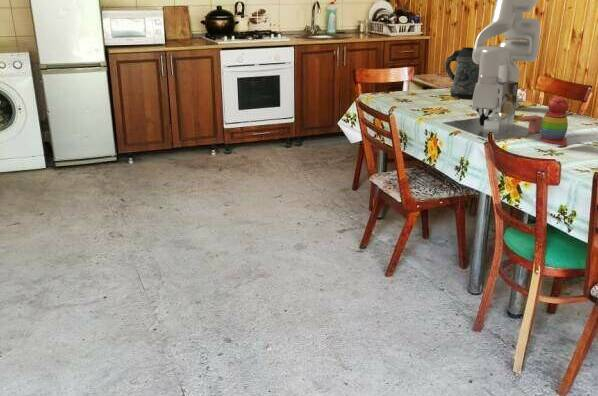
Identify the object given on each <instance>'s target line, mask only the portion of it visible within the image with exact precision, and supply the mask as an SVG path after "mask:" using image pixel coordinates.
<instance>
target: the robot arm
mask: <svg viewBox="0 0 598 396" xmlns="http://www.w3.org/2000/svg"><path fill="white" fill-rule="evenodd" d="M538 2H539V0H496V2H495V6H494V10H493V13H492V17H491V22H490V23H489V24H488V25H487V26H485V27H484V28H483V29H482V30H481V31H480V32H479V34H478V35H477V37H476V39H475V42H474V46H473V54H472V59H473V62H474V63H476V64H479V78H478V83H476V86H475V90H474V94H473V99H471V100H472V102H471V110H473V111H476V112H477V113H478V115H479V118H480V121H479V123H480V125H481V126H482V125H483V126H484V120H486V119H488V117H489V116H491V115H490V114H491V113H495V112H498V107H499V104H500V84H498V82H501V81H507V80H509V81H514V82H518V83H519V78H520V67H518V65H517V62H522V63H523V62H524V63H525V62H526V63H531V62H532V63H533V62H535V61H536V60H537V58H538V56H539V55H538V54H539V48H540V38H541V22H540V21H539V19H537V18H534V17H531V18H530V17H524V13H529V12H531V11H532V10H533V9H534V7H535V6H536V5H537V3H538ZM499 35H503V37H504V38H505V39H506V40H503V41H501V42H500V44H499V46H496V45H484V44H485V42H486V41H488V40H489V39H491V38H493V37H497V36H499ZM523 102H524V98H523V97H520V98H518V97H517V99H516V108H515V110H517V109H519V103H523ZM491 109H492V110H491Z"/></svg>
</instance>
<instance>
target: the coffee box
mask: <svg viewBox="0 0 598 396" xmlns="http://www.w3.org/2000/svg"><path fill="white" fill-rule="evenodd" d="M498 84H500V104H499V107H498V112H495V113H491V114H490V115H489V116H490V117H492V116H494V115H495V114H497V113H499V112H501V113H509V114H515V113H516V109H515V108H516V99H517V98H518V97H517V96H518V89H519V81H518V82H514V81H509V80H507V81H501V82H498ZM491 110H492V109H491ZM515 115H516V114H515ZM515 115H514V117H515Z"/></svg>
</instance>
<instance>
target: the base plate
mask: <svg viewBox="0 0 598 396" xmlns="http://www.w3.org/2000/svg"><path fill="white" fill-rule="evenodd" d="M490 117H491V115H488V118H490ZM479 121H480V117H475V118H467V119H459V120H453V121H452V120H451V121H446V122H443V121H442V124H444V125H447V126H449V127H452V128H455V129H459V130H460V131H461V130H462V131H464V132H467V133H469V134H472V135H475V136H477V137H476V138H477V139H480V140H482V141H485V142H488V139H487V135H488V133H483V130H484V126H483V125H482V126H481V125H480V123H479ZM528 128H529V127H526V126H522V125H518V124H516V123H513V126H512V127H511V128H509V129H507V130H505V131H503V132H502V133H500V134H498V135H496V134H494V139H495V141H501V140H502V141H503V140H508V139H513V138H519V137H527V136H528V137H529V136H533V135H541V131H540V132H537V133H533V132H530V131H528ZM478 136H479V137H478Z"/></svg>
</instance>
